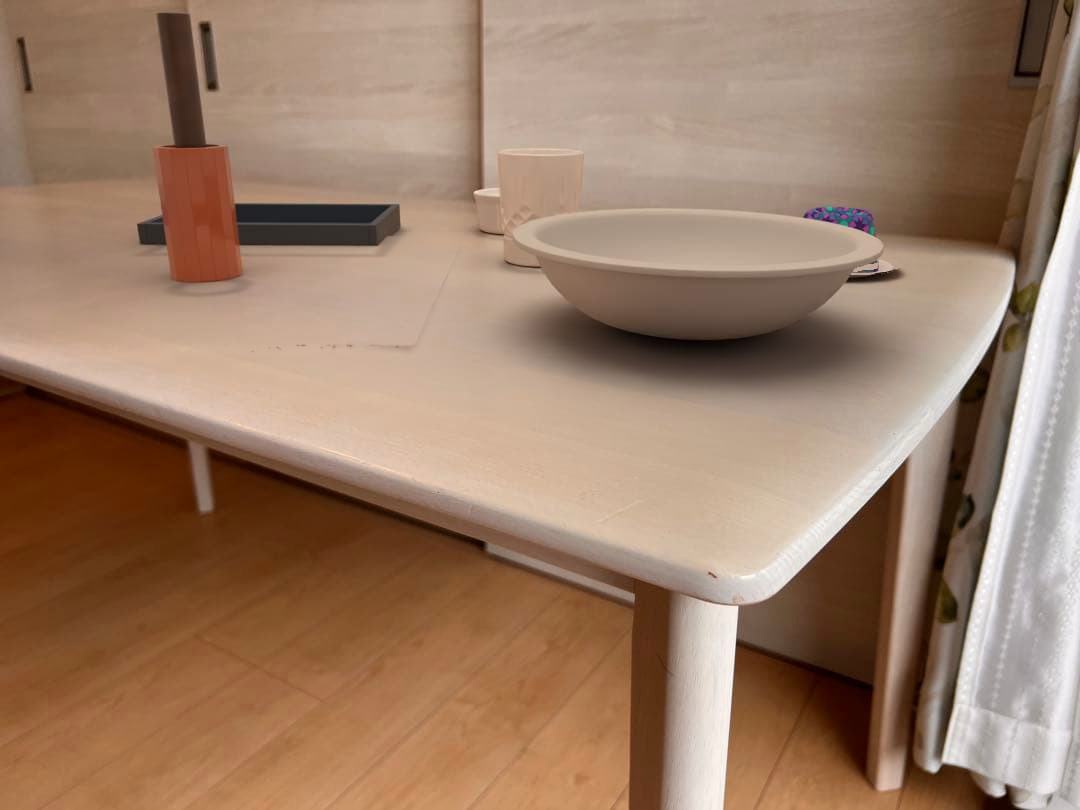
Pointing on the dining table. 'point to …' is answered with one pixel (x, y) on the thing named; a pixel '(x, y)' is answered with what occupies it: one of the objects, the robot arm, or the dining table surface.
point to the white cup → (536, 191)
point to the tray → (300, 224)
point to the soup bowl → (695, 267)
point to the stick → (181, 79)
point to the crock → (198, 212)
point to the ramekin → (489, 210)
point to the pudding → (850, 219)
